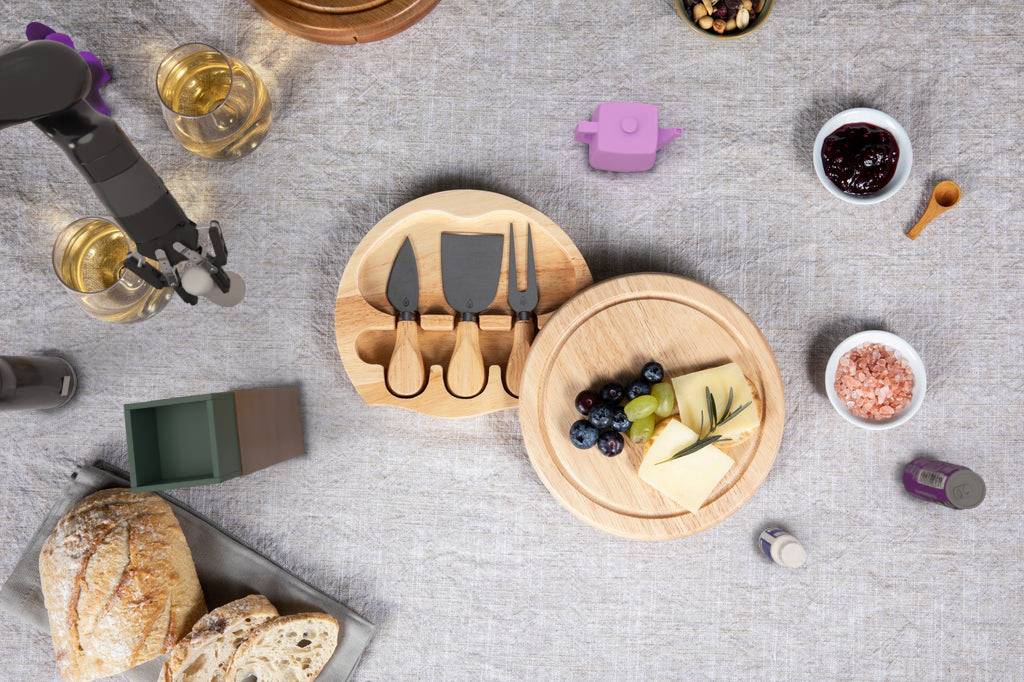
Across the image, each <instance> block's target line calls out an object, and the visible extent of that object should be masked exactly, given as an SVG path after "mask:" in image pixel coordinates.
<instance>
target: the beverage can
mask: <svg viewBox="0 0 1024 682" xmlns="http://www.w3.org/2000/svg"><path fill="white" fill-rule="evenodd" d="M902 482H903V486H904V487H905V490H906V491H907V492H908V494H910V495H911V496H912V497H914V498H917V499H920V500H923V501H926V502H929V503H933V504H935V505H938V506H941V507H946V508H949V509H952V510H956V511H963V510H972V509H976V508H977V507H979V506H980V505H982V503H983V501H984V500H985V498H986V495H987V486H986V482H985V480H984V479H983V477H982V476H981V475H980V474H979V473H977V472H975V471H974V470H972V469H971V468H969V467H968V466H964V465H961V464H956V463H952V462H947V461H942V460H937V459H934V458H928V457H918V458H914V459H913V460H911V461H909V462H908V464H906V466H905V468H904V470H903V473H902Z"/></svg>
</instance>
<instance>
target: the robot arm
mask: <svg viewBox="0 0 1024 682" xmlns="http://www.w3.org/2000/svg"><path fill="white" fill-rule="evenodd" d="M91 82H92V77H91V72H90V69H89V66H88V64H87V63H86V61H85V60H84V58H83V57H82V56H81V55H80V54H79V51H76V49H75V50H74V49H73V48H71V47H69V46H67V45H65V44H63V43H60V42H57V41H52V40H34V41H28V40H25V41H16V42H12V43H9V44H6V45H5V46H3V47H1V48H0V132H1V131H3V130H5V129H8V128H12V127H15V126H19V125H22V124H26V123H29V122H31V124H32V125H34V126H35V127H36V128H37V129H38V130H39V131H41V133H42V134H43V135H44V136H46V137H47V138H48V139H49V140H50V141H52V142H53V143H54V144H55V145H56V146H57V147H58V148H60V150H61V151H62V152H63V153H64V155H65V156H66V158H67V159H68V160H69V161H70V163H71V164H72V165H73V167H74V168H75V169H76V170H77V171H78V173H79V174H80V175H81V176H82V178H84V180H85V181H86V183H87V184H88V185H89V187H90V189H91V191H92V192H93V194H94V195H95V197H96V198H97V200H98V201H99V202H100V203H101V205H102V206H103V208H105V210H106V211H107V212H108V213H109V214H110V216H111V217H112V218H113V220H114V221H115V222H116V223H117V225H119V227H120V228H121V229H122V231H123V232H124V233H125V234H126V236H128V238H129V239H130V240H131V242H133V243H134V244H135V249H134V250H133V251H127V253H126V254H125V257H124V260H123V263H122V264H123V267H124V268H126V269H127V270H129V271H130V272H131V273H133V274H134V275H136V276H137V277H139V278H140V279H141V280H143V282H146V283H147V284H148V285H150V286H151V287H152V288H154V289H156V290H158V291H160V290H163V289H164V288H170V289H173V290H174V291H175V293H176V294H177V295H178V296H179V298H180V299H181V300H182V301H183V303H185V304H190V306H192V307H193V306H197V305H198V302H199V296H194V295H192V294H190V293H188V292H186V290H185V289H184V288H183V287H182V282H181V278H182V277H181V273H180V270H179V267H178V265H180V263H182V262H186V261H191V262H192V263H194V264H195V266H202V267H203V268H204V269H206V270H207V271H208V272H210V273H211V274H210V276H211V277H212V279H213V280H214V281H215V283H216V284H217V286H218V287H219V288H220V290H221V291H222V292H223V293H224V294H225V293H228V292H229V290H230V286H231V280H230V278H229V277H228V275H227V274H226V272H225V271H226V270H224V268H223V267H225V266H227V264H228V257H229V251H228V248H227V244H226V240H225V238H224V237H225V236H224V233H223V231H222V228H221V224H220V222H219V220H217V219H212V220H210V221H209V223H205V224H197V223H196V222H195V221H193V220H191V219H190V218H189V217H188V216H187V214H186V212H185V211H184V209H183V208H182V207H181V205H180V204H179V202H178V201H177V199H176V198H175V197H174V195H173V194H172V192H171V191H170V190H169V189H168V187H167V185H166V183H165V181H164V180H163V178H162V177H161V176H160V175H159V174H158V173H157V172H156V170H155V169H154V168H153V167H152V166H151V164H150V163H149V162H148V161H147V160H146V159H145V158H144V157H143V155H142V154H141V153H140V152H139V149H137V147H136V146H135V145H134V144H133V142H132V140H131V139H130V138H129V136H128V135H127V134H126V132H125V131H124V129H123V128H122V127H121V126H120V125H119V123H117V121H115V119H114V118H112V117H110V116H109V115H108V114H107V115H104V114H102V113H100V112H98V111H96V110H95V109H94V108H92V107H91V106H90V104H89V103H88V102H87V101H86V100H85V99H84V98H85V97H86V96H87V94H88V93H89V90H90V88H91ZM200 235H202V236H203V237H204V238H205V240H207V242H208V241H209V242H210V243H211V245H212V249H213V252H214V255H213V254H212V253H211V252H210V251H209V250H208V248H207V246H205V245H204V244H202V243H201V242H200V241H199V238H200ZM147 259H149V260H152V261H155V262H157V263H158V264H159V266H160V269H161V270H159V269H158V268H157V267H155V266H154V265H152V264H151V263H149V262H148V261H147ZM77 386H78V378H77V373H76V371H75V368H74V367H73V366H72V364H71V363H70V362H69V361H68V360H65V359H64V358H62V357H60V356H54V355H47V356H40V355H39V356H37V355H4V354H0V413H6V412H20V411H22V412H23V411H33V410H34V411H35V410H51V409H52V410H54V409H58V408H61V407H63V406H65V405H66V404H67V403H69V402H70V400H71V399H72V398H73V397H74V395H75V393H76V390H77Z"/></svg>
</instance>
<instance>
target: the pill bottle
mask: <svg viewBox="0 0 1024 682" xmlns="http://www.w3.org/2000/svg"><path fill="white" fill-rule="evenodd" d="M758 546H759V550H760V551H761V552H762V554H763V555H765V556H766V557H767V558H769V559H770V560H772V561H773V562H774V563H775V564H777V565H779V566H781V567H783V568H793V569H796V568H800V567H802V566H803V565H804V564H805V562H806V559H807V552H806V550H805V547H803V545H802V543H801V542H800V540H799V539H798V538H796V537H795V536H793V534H790V533H788V532H787V531H785V530H784V529H782V528H779V527H777V526H776V527H775V526H772V527H771V526H770V527H768V528H766V529H764V530H763V531H762V532H761V533H760V535H759V537H758Z"/></svg>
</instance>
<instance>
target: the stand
mask: <svg viewBox="0 0 1024 682" xmlns="http://www.w3.org/2000/svg"><path fill="white" fill-rule="evenodd" d="M227 392H234V402H235V412H236V422H237V432H238V442H239V452H240V462H241V471H242V475H241V476H238V477H237V478H243V477H246V476H249V475H251V474H254V473H256V472H259V471H262V470H265V469H267V468H270V467H273V466H276V465H279V464H281V463H283V462H285V461H288V460H291V459H294V458H297V457H299V456H302V455H305V453H306V451H305V442H304V441H305V440H304V432H303V423H302V413H301V404H300V395H299V386H297V385H295V386H282V387H264V388H252V389H251V388H249V389H238V390H237V389H235V390H234V389H233V390H227V391H218V392H217V393H227ZM214 393H215V392H211V393H209V394H214ZM204 394H205V393H203V394H201V395H204ZM196 395H197V394H195V395H192V396H196ZM188 396H189V395H187V396H184V397H188ZM180 397H181V396H179V397H178V396H177V397H176V398H180ZM172 398H173V397H170V398H168V399H172ZM163 399H164V398H162V399H160V398H159V400H163ZM155 400H156V399H153V400H151V401H155Z"/></svg>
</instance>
